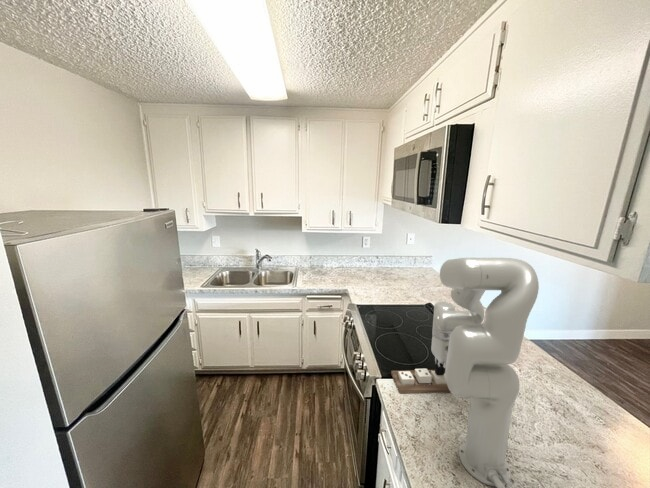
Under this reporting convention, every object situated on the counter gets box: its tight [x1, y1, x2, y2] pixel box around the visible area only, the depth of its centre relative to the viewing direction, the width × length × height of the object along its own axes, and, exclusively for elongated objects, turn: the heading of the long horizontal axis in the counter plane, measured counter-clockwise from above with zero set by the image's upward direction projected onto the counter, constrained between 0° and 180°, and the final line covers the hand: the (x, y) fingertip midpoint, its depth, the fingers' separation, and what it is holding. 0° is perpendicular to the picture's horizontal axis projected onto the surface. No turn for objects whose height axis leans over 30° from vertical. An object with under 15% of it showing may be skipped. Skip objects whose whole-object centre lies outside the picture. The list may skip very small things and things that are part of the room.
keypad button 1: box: [431, 371, 447, 384], centre depth 107 cm, size 5×5×3 cm
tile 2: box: [414, 368, 432, 384], centre depth 107 cm, size 5×5×3 cm
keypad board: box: [390, 369, 451, 395], centre depth 107 cm, size 12×23×2 cm, turn 91°
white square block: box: [397, 370, 414, 385], centre depth 107 cm, size 5×5×3 cm
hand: (439, 373), depth 107 cm, fingers closed
